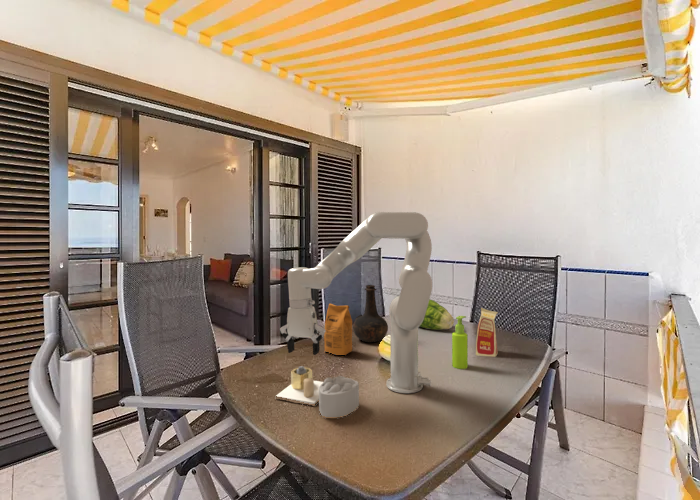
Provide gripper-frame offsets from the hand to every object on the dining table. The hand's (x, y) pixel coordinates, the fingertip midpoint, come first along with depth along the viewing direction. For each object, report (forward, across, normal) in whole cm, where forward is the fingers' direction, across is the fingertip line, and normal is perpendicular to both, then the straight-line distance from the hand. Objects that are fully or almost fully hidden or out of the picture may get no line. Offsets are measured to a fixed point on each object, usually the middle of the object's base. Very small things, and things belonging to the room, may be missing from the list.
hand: (303, 352), depth 121 cm
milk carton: (+16, -59, -59) cm, 85 cm away
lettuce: (+16, -31, -92) cm, 99 cm away
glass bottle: (+14, -4, -61) cm, 63 cm away
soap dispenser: (+15, -49, -39) cm, 64 cm away
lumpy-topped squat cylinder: (+13, -16, +9) cm, 23 cm away
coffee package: (+13, +4, -38) cm, 41 cm away
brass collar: (+11, +1, 0) cm, 11 cm away
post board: (+13, -2, +3) cm, 13 cm away
